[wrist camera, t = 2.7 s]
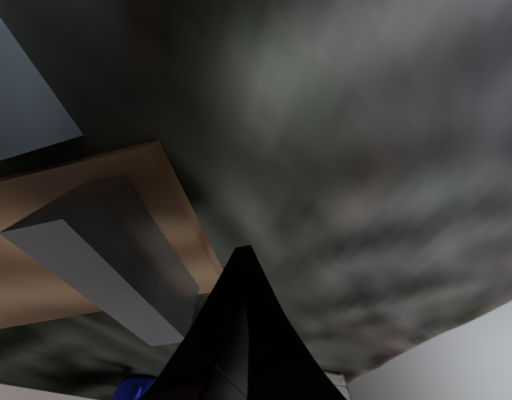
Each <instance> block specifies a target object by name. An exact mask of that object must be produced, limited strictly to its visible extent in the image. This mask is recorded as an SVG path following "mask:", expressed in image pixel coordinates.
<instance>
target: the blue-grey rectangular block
mask: <svg viewBox="0 0 512 400" xmlns="http://www.w3.org/2000/svg"><path fill="white" fill-rule="evenodd" d="M82 135H83V134H82V132H81V131H80V129H79V128H78V126H77V125H76V124H75V122H74V121H73V119H72V118H71V117H70V115H69V114H68V112H67V111H66V110H65V108H64V107H63V105H62V104H61V103H60V101H59V100H58V98H57V97H56V95H55V94H54V93H53V91H52V90H51V88H50V87H49V86H48V84H47V83H46V81H45V80H44V79H43V77H42V76H41V74H40V73H39V72H38V70H37V69H36V67H35V66H34V64H33V63H32V62H31V60H30V59H29V57H28V56H27V55H26V53H25V52H24V50H23V49H22V48H21V46H20V45H19V43H18V42H17V41H16V39H15V38H14V36H13V35H12V34H11V32H10V31H9V29H8V28H7V26H6V25H5V24H4V22H3V21H2V19H1V18H0V161H1V160H4V159H7V158H11V157H14V156H17V155H20V154H24V153H27V152H30V151H33V150H37V149H40V148H43V147H47V146H50V145H53V144H56V143H60V142H63V141H66V140H69V139H73V138H76V137H79V136H82Z"/></svg>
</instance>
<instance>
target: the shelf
mask: <svg viewBox="0 0 512 400" xmlns="http://www.w3.org/2000/svg"><path fill="white" fill-rule="evenodd" d="M120 175H124V176H125V178H126V179H127V181H128V182H129V184H130V185H131V187H132V188H133V190H134V191H135V193H136V194H137V196H138V197H139V199H140V200H141V202H142V203H143V205H144V206H145V208H146V209H147V211H148V212H149V214H150V215H151V217H152V218H153V220H154V221H155V222H156V224H157V225H158V227H159V228H160V230H161V231H162V233H163V234H164V236H165V237H166V239H167V240H168V242H169V243H170V245H171V246H172V248H173V249H174V251H175V252H176V254H177V255H178V257H179V258H180V260H181V261H182V263H183V264H184V266H185V267H186V269H187V270H188V272H189V273H190V275H191V276H192V278H193V279H194V281H195V282H196V284H197V285H198V287H199V292H198V295H199V294H205V293H211V291H212V289H213V288H214V286H215V284H216V282H217V280H218V279H219V277H220V275H221V273H222V271H223V269H222V267H221V265H220V262H219V260H218V258H217V256H216V254H215V252H214V250H213V248H212V246H211V244H210V242H209V240H208V238H207V236H206V234H205V232H204V230H203V228H202V226H201V224H200V222H199V220H198V218H197V216H196V214H195V212H194V210H193V208H192V206H191V204H190V202H189V200H188V198H187V196H186V194H185V192H184V190H183V188H182V186H181V184H180V182H179V180H178V178H177V176H176V174H175V172H174V170H173V168H172V166H171V164H170V162H169V160H168V158H167V156H166V154H165V152H164V150H163V148H162V146H161V144H160V142H159V140H155V141H151V142H146V143H142V144H138V145H134V146H130V147H125V148H121V149H117V150H113V151H109V152H105V153H100V154H96V155H92V156H88V157H84V158H79V159H75V160H71V161H67V162H63V163H58V164H54V165H50V166H46V167H42V168H38V169H33V170H29V171H25V172H21V173H17V174H12V175H8V176H4V177H0V232H1V231H3V230H4V229H6V228H8V227H9V226H11V225H13V224H14V223H16V222H18V221H19V220H21V219H23V218H24V217H26V216H28V215H29V214H31V213H33V212H35V211H36V210H38V209H40V208H41V207H43V206H45V205H46V204H48V203H50V202H51V201H53V200H55V199H56V198H58V197H60V196H61V195H63V194H65V193H66V192H68V191H70V190H71V189H73V188H75V187H76V186H78V185H81V184H85V183H89V182H94V181H98V180H103V179H107V178H111V177H116V176H120ZM100 311H103V310H102V309H100V308H99V307H98V306H96V305H95V304H94V303H92V302H91V301H89V300H88V299H87V298H85V297H84V296H83V295H81V294H80V293H79V292H77V291H76V290H75V289H73V288H72V287H71V286H69V285H68V284H67V283H65V282H64V281H63V280H61V279H60V278H58V277H57V276H56V275H54V274H53V273H52V272H50V271H49V270H48V269H46V268H45V267H44V266H42V265H41V264H40V263H38V262H37V261H36V260H34V259H33V258H32V257H30V256H29V255H28V254H26V253H25V252H23V251H22V250H21V249H19V248H18V247H17V246H15V245H14V244H13V243H11V242H10V241H9V240H7V239H6V238H5V237H3V236H2V235H1V234H0V329H1V328H7V327H13V326H19V325H25V324H30V323H36V322H42V321H48V320H54V319H59V318H65V317H71V316H77V315H83V314H89V313H94V312H100Z"/></svg>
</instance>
